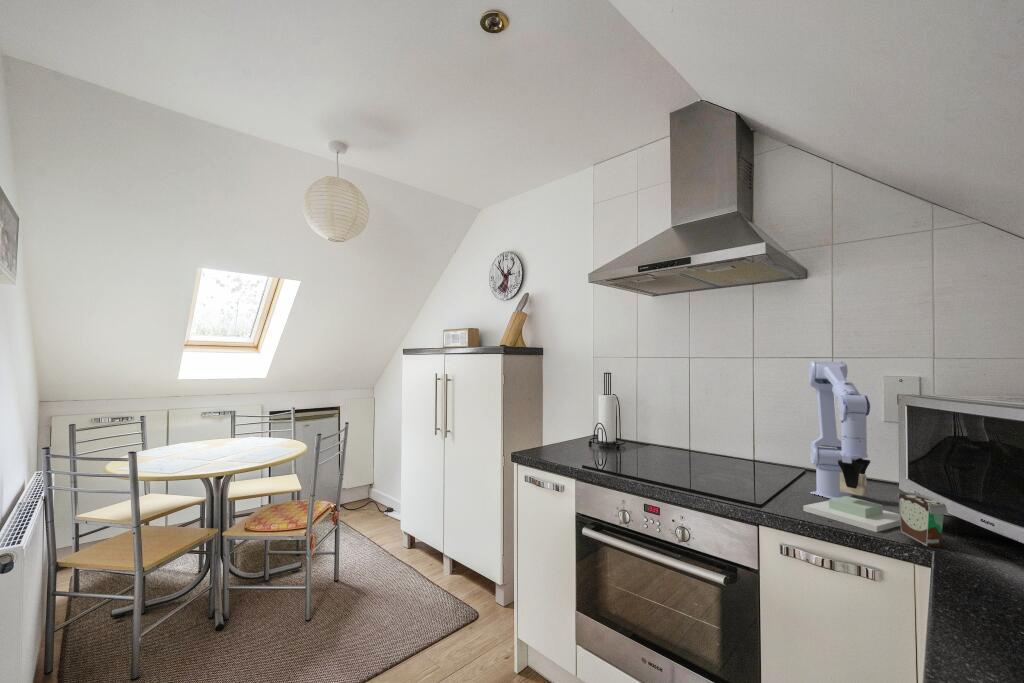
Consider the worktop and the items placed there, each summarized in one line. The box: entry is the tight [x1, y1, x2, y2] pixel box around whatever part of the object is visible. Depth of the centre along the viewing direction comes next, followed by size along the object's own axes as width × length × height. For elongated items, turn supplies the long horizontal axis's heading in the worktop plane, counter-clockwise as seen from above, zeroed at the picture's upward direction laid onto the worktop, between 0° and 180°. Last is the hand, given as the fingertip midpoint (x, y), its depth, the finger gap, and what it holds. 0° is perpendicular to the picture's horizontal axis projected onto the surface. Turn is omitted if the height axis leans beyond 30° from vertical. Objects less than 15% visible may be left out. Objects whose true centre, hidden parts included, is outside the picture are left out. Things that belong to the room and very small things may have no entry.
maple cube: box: [840, 472, 868, 497], centre depth 127 cm, size 5×5×5 cm
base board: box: [802, 496, 901, 533], centre depth 126 cm, size 18×18×4 cm
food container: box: [896, 490, 948, 547], centre depth 110 cm, size 12×6×10 cm, turn 168°
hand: (854, 486), depth 126 cm, fingers closed on maple cube, 5 cm apart
